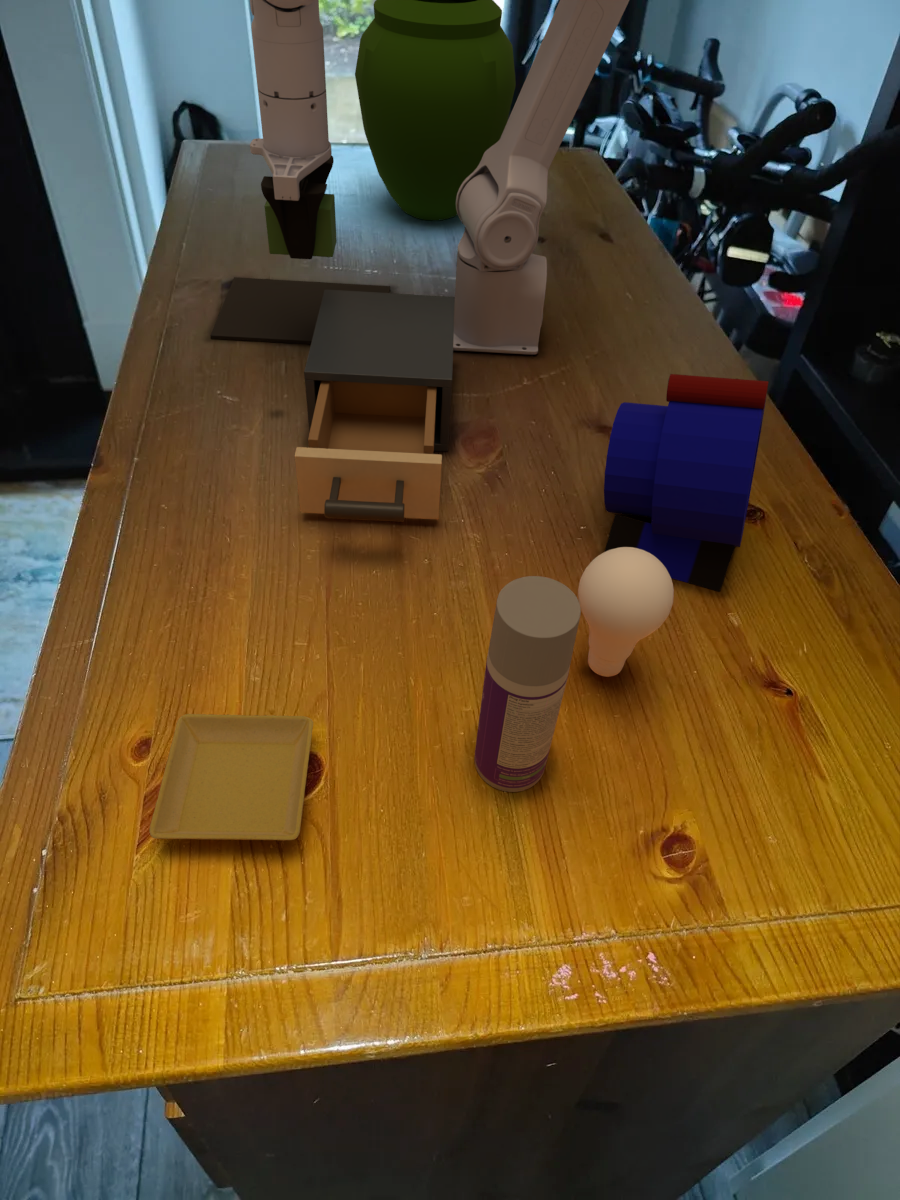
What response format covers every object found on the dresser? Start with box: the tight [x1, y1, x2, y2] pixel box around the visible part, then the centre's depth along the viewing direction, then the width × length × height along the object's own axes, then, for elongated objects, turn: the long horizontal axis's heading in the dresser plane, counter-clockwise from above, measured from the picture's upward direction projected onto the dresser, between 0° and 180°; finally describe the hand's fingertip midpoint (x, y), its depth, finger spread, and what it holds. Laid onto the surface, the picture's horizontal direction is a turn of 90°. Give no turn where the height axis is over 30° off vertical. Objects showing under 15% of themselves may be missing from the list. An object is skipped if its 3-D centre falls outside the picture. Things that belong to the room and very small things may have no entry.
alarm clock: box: [603, 373, 770, 593], centre depth 66 cm, size 12×12×15 cm
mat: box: [209, 276, 391, 345], centre depth 93 cm, size 18×13×1 cm
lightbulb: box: [577, 547, 675, 678], centre depth 57 cm, size 6×6×11 cm
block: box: [264, 193, 338, 258], centre depth 79 cm, size 6×4×4 cm, turn 89°
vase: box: [354, 0, 517, 221], centre depth 105 cm, size 20×20×24 cm
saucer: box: [148, 713, 314, 841], centre depth 52 cm, size 9×9×2 cm
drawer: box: [294, 380, 443, 523], centre depth 70 cm, size 18×11×6 cm, turn 179°
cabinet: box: [303, 290, 455, 452], centre depth 79 cm, size 15×13×8 cm
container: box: [474, 575, 582, 793], centre depth 50 cm, size 5×5×15 cm
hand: (304, 247), depth 81 cm, fingers closed on block, 3 cm apart
